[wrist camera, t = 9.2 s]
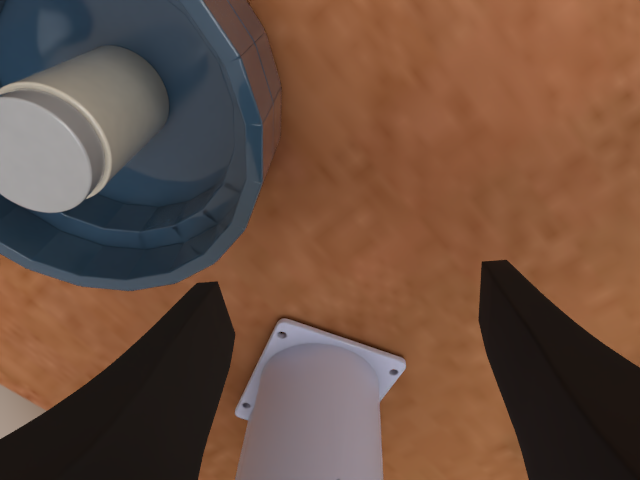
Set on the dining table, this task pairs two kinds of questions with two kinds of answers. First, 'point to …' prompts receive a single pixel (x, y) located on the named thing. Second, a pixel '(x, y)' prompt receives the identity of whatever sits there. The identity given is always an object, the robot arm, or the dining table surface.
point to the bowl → (164, 149)
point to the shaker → (77, 126)
